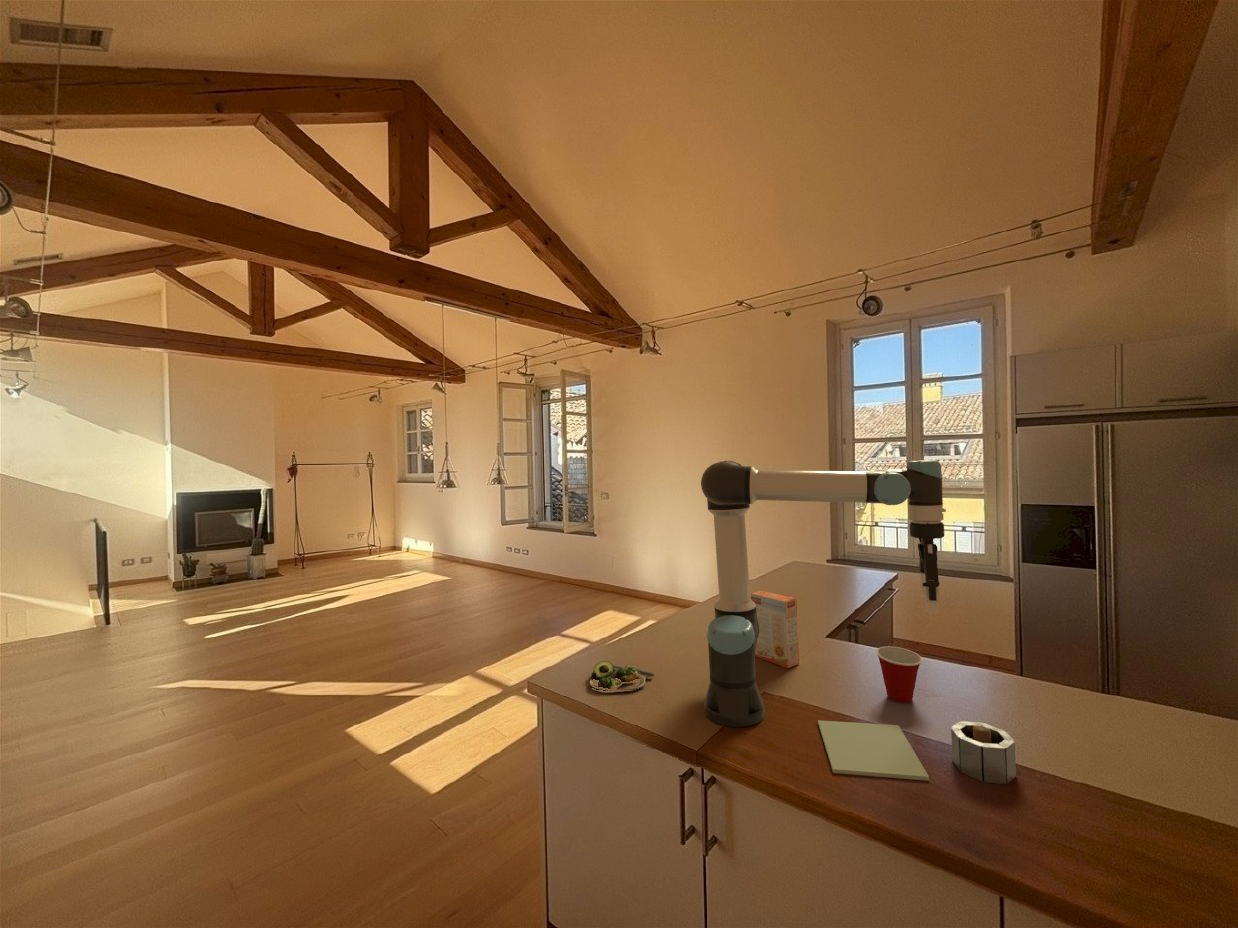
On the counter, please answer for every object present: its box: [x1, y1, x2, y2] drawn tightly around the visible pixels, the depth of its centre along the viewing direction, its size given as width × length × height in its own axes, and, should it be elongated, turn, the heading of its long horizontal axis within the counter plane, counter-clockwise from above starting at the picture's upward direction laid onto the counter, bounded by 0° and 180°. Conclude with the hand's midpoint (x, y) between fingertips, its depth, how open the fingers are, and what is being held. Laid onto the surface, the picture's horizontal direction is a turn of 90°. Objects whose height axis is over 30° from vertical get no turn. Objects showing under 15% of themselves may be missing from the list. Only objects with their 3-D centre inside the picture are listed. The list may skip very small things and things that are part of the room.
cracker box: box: [750, 590, 800, 669], centre depth 166 cm, size 14×6×21 cm, turn 33°
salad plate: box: [588, 660, 655, 691], centre depth 157 cm, size 19×18×5 cm
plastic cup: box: [875, 646, 924, 704], centre depth 137 cm, size 11×11×12 cm
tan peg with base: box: [973, 726, 991, 744], centre depth 107 cm, size 5×5×8 cm
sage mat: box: [817, 720, 930, 782], centre depth 115 cm, size 18×20×1 cm
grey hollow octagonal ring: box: [950, 720, 1017, 785], centre depth 107 cm, size 10×10×7 cm
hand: (929, 605), depth 131 cm, fingers open, 13 cm apart
